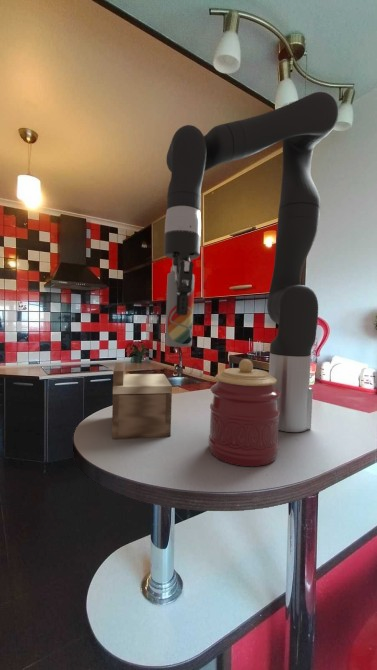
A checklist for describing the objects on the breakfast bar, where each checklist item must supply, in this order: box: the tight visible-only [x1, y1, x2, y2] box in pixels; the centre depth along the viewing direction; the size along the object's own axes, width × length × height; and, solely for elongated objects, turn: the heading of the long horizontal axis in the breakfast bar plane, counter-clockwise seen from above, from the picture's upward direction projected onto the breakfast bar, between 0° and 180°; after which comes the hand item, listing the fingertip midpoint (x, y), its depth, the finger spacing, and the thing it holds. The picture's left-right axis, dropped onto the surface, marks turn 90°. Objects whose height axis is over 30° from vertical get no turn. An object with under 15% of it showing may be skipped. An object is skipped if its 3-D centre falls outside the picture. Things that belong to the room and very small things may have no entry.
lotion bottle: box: [164, 255, 195, 348], centre depth 64 cm, size 6×6×20 cm
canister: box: [208, 358, 281, 467], centre depth 57 cm, size 13×13×18 cm
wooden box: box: [111, 393, 173, 440], centre depth 69 cm, size 12×14×9 cm
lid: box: [112, 362, 173, 395], centre depth 68 cm, size 12×14×4 cm
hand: (179, 314), depth 64 cm, fingers closed on lotion bottle, 5 cm apart
